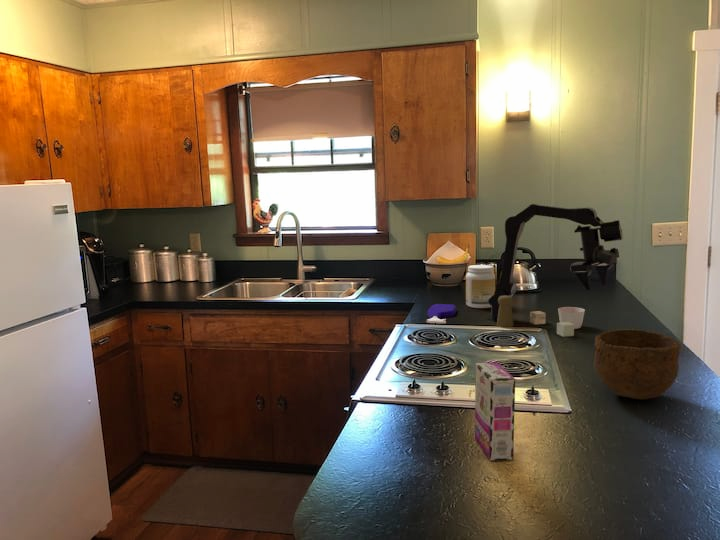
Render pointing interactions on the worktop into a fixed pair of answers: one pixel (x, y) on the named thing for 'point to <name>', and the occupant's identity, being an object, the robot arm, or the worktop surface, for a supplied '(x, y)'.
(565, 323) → the sage block
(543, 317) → the birch block
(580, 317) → the candle
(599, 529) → the worktop surface
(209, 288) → the worktop surface
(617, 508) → the worktop surface
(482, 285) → the supplement tub
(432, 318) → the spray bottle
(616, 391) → the bowl
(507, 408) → the candy bar box
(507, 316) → the cork
